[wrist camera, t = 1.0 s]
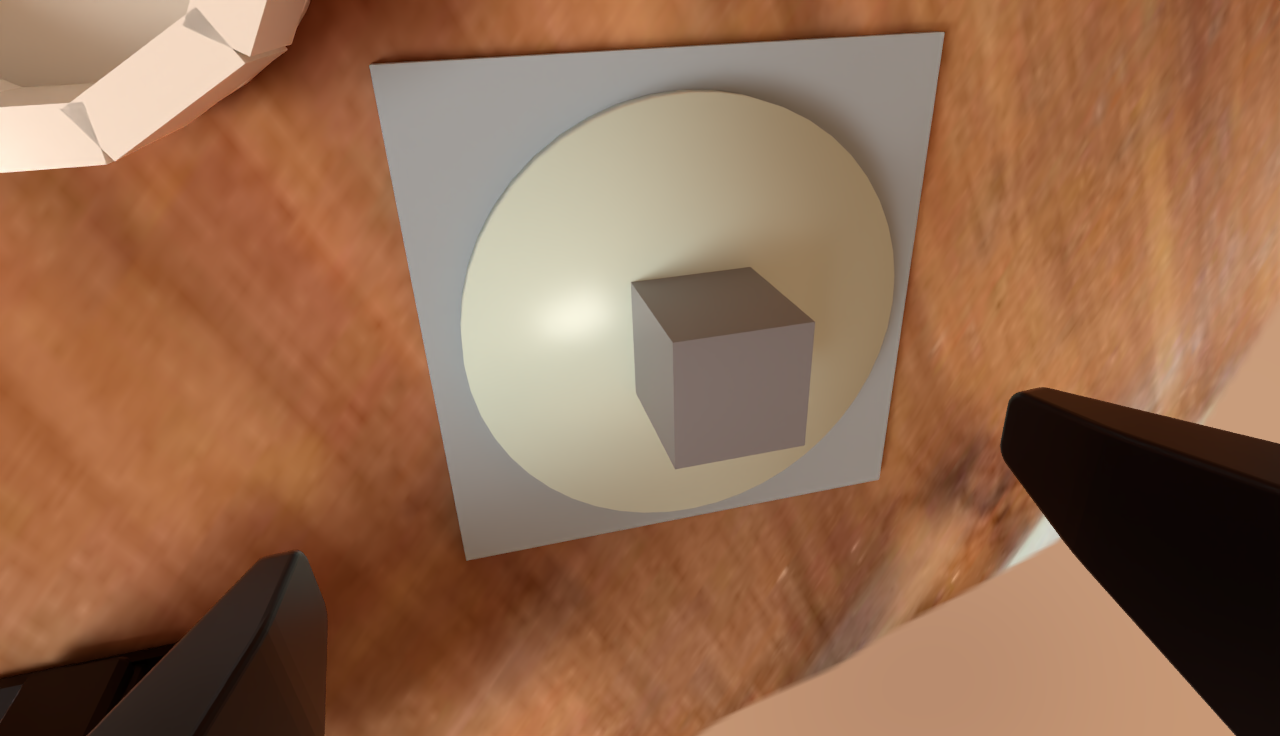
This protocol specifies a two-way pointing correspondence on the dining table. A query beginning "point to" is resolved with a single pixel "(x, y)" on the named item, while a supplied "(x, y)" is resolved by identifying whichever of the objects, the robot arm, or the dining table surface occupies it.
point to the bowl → (124, 71)
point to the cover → (676, 300)
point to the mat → (558, 100)
